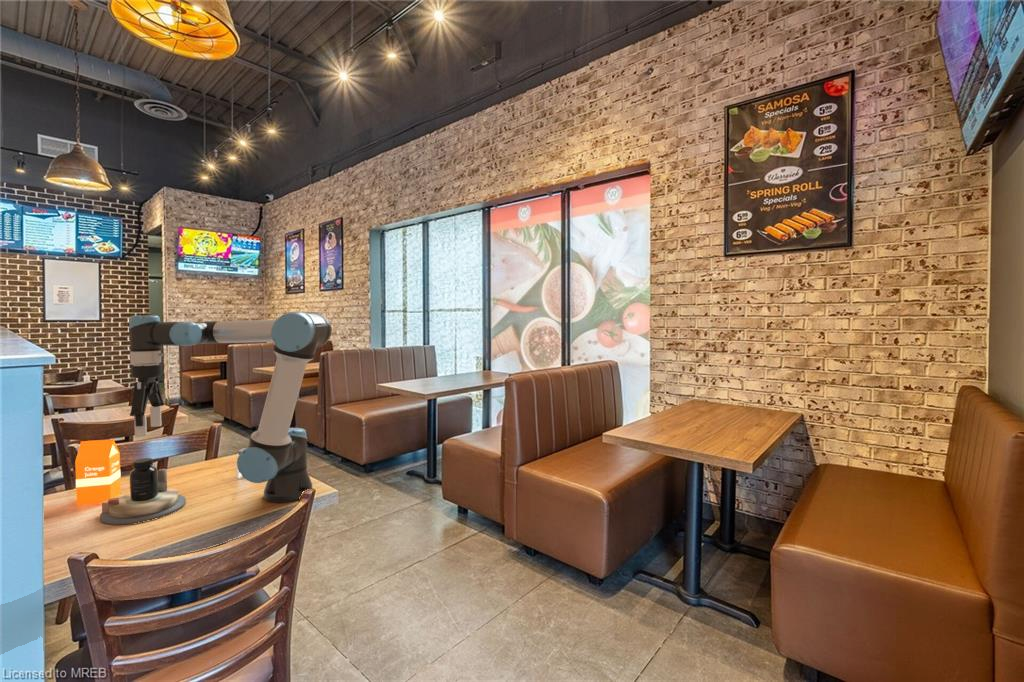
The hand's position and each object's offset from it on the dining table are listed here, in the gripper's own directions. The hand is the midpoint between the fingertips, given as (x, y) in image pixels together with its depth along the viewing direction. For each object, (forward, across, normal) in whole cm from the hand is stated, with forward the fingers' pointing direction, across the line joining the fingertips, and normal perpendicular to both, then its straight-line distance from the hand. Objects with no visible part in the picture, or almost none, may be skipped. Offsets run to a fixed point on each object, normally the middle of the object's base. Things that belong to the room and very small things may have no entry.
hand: (148, 431), depth 143 cm
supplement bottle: (+21, -1, +1) cm, 21 cm away
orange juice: (+25, +14, +18) cm, 34 cm away
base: (+25, -1, +2) cm, 25 cm away
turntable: (+24, -1, +1) cm, 24 cm away
